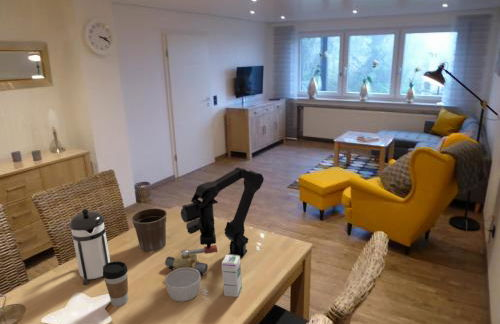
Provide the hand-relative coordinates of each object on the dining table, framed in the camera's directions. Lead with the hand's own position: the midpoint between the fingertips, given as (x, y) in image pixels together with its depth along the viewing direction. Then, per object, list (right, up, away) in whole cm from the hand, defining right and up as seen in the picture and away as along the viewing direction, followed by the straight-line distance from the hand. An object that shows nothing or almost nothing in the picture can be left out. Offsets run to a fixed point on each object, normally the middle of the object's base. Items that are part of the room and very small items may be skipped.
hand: (208, 247), depth 150 cm
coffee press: (-48, -11, -2) cm, 49 cm away
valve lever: (-4, -2, -2) cm, 5 cm away
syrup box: (+11, -13, -16) cm, 23 cm away
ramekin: (-7, -14, -15) cm, 22 cm away
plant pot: (-29, -4, +19) cm, 35 cm away
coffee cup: (-31, -16, -19) cm, 39 cm away
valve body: (-9, -9, -1) cm, 13 cm away
